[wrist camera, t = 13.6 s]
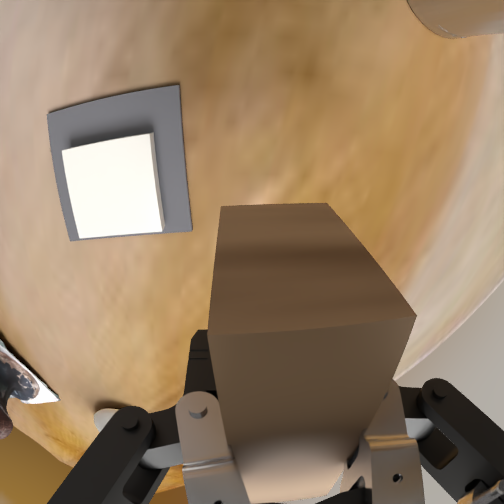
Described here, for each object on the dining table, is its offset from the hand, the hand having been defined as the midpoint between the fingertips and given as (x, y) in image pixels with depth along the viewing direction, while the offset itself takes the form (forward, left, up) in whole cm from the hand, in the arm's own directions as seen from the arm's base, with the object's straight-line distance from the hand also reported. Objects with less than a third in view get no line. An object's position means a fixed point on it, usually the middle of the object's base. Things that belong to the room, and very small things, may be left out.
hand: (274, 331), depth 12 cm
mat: (-4, -13, -19) cm, 23 cm away
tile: (-7, -13, -17) cm, 23 cm away
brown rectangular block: (0, 0, -1) cm, 1 cm away
